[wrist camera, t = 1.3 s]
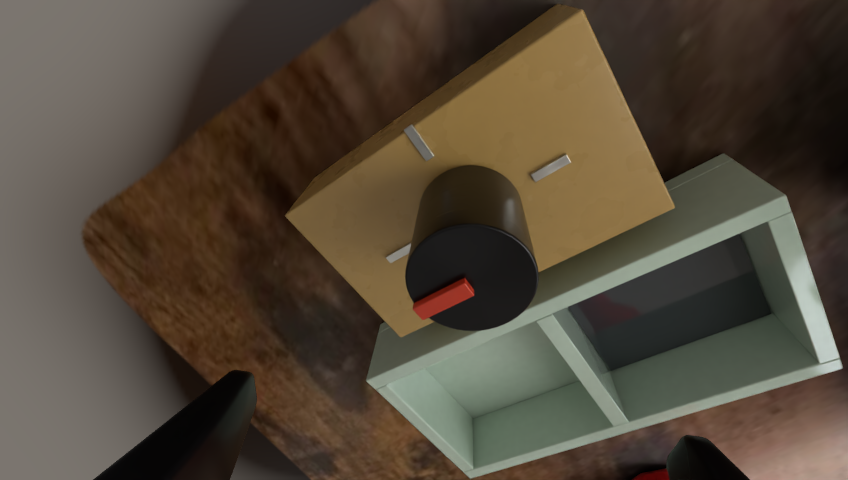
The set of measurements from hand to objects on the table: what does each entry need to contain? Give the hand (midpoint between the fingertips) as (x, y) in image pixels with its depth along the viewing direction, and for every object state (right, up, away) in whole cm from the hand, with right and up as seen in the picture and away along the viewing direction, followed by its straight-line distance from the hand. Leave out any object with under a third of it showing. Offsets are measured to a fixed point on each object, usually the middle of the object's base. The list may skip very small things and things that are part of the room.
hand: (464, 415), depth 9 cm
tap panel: (+1, +7, +11) cm, 13 cm away
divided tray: (+7, -1, +15) cm, 17 cm away
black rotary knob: (+1, +5, +8) cm, 9 cm away
